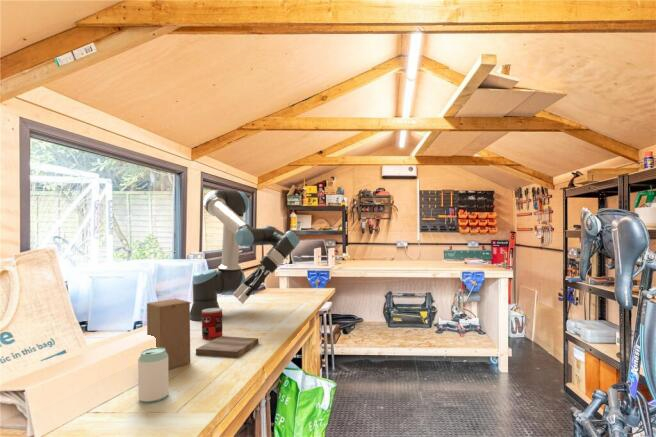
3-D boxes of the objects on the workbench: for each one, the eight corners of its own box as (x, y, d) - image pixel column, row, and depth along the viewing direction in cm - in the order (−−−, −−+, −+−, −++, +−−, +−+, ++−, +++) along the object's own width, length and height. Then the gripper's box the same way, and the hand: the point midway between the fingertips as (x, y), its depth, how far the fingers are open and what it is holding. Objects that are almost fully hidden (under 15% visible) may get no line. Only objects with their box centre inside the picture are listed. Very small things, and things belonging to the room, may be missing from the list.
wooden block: (191, 363, 121) (190, 301, 122) (159, 372, 114) (159, 306, 115) (177, 356, 128) (176, 298, 129) (146, 365, 121) (146, 302, 121)
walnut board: (220, 341, 145) (220, 336, 145) (258, 343, 141) (258, 338, 141) (195, 354, 130) (195, 348, 130) (237, 357, 125) (237, 351, 125)
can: (165, 402, 94) (164, 353, 94) (134, 405, 92) (134, 356, 92) (171, 390, 100) (170, 345, 101) (142, 393, 99) (142, 347, 99)
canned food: (201, 335, 154) (200, 309, 154) (221, 333, 157) (220, 307, 157) (202, 340, 147) (202, 312, 147) (223, 337, 150) (223, 310, 150)
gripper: (285, 268, 152) (249, 310, 145) (271, 264, 175) (239, 299, 168) (272, 256, 150) (235, 297, 144) (259, 253, 173) (226, 289, 167)
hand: (237, 299), depth 156 cm, fingers open, 13 cm apart
